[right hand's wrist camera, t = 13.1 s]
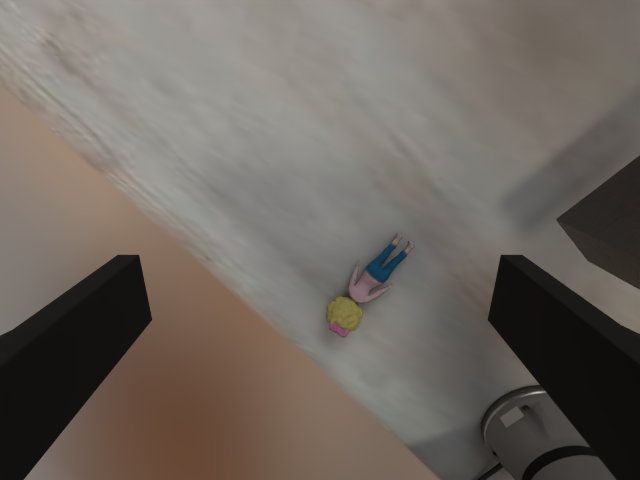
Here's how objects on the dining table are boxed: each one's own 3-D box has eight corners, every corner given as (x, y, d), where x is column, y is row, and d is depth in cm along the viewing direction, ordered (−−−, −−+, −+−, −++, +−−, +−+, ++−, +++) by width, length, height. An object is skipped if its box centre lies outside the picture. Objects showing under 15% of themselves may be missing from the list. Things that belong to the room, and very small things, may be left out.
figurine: (385, 221, 44) (315, 306, 47) (393, 231, 40) (316, 323, 43) (419, 247, 45) (348, 328, 48) (431, 259, 41) (352, 347, 44)
